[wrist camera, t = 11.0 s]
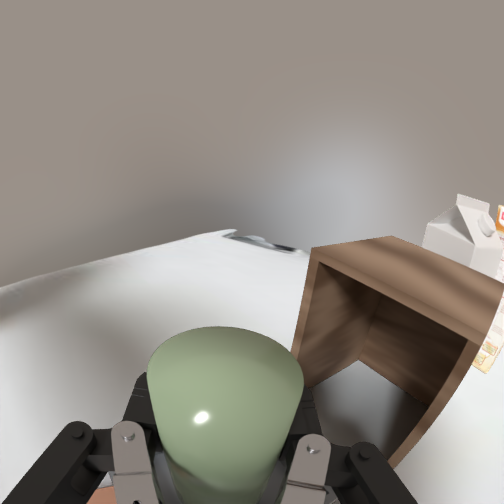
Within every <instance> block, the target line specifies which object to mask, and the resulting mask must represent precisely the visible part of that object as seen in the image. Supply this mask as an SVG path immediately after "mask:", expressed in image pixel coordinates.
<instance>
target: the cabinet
mask: <svg viewBox="0 0 504 504" xmlns="http://www.w3.org/2000/svg"><path fill="white" fill-rule="evenodd" d="M503 292H504V283H502V282H500V281H498V280H496V279H493V278H491V277H489V276H487V275H485V274H483V273H480V272H478V271H476V270H474V269H472V268H469V267H467V266H465V265H463V264H460V263H458V262H456V261H453V260H451V259H449V258H446V257H444V256H441V255H439V254H437V253H434V252H432V251H429V250H427V249H424V248H422V247H419V246H417V245H414V244H412V243H409V242H406V241H404V240H402V239H399V238H396V237H394V236H386V237H380V238H373V239H367V240H360V241H354V242H348V243H340V244H334V245H327V246H320V247H314V248H312V249H311V254H310V259H309V265H308V270H307V276H306V281H305V286H304V291H303V296H302V301H301V306H300V311H299V316H298V321H297V325H296V330H295V335H294V339H293V343H292V348H291V352H290V353H291V354H292V355H293V356H294V357H295V359H296V360H297V362H298V363H299V365H300V367H301V370H302V373H303V378H304V384H305V385H306V386H307V387H308V389H309V388H311V387H313V386H315V385H316V384H318V383H320V382H322V381H324V380H325V379H327V378H329V377H331V376H332V375H334V374H336V373H337V372H339V371H341V370H342V369H344V368H346V367H347V366H349V365H350V364H352V363H354V362H355V361H357V360H358V359H359V360H360V361H361V362H363V363H364V364H366V365H367V366H369V367H370V368H372V369H373V370H374V371H376V372H377V373H379V374H380V375H382V376H383V377H385V378H386V379H388V380H389V381H391V382H392V383H394V384H395V385H397V386H398V387H400V388H401V389H403V390H404V391H406V392H407V393H409V394H410V395H412V396H413V397H415V398H416V399H418V400H419V401H421V402H422V403H424V404H425V405H427V406H428V407H429V408H428V410H427V411H426V413H425V414H424V415H423V417H422V418H421V420H420V421H419V422H418V424H417V425H416V426H415V428H414V429H413V430H412V432H411V433H410V434H409V436H408V437H407V438H406V439H405V441H404V442H403V443H402V444H401V446H400V447H399V448H398V449H397V450H396V452H395V453H394V454H393V455H392V456H391V457H390V458H389V460H388V461H387V462H388V463H389V465H390V466H391V467H392V469H394V468H395V467H396V466H397V465H398V464H399V463H400V462H401V460H402V459H403V458H404V457H405V456H406V455H407V454H408V453H409V452H410V450H411V449H412V448H413V447H414V446H415V445H416V443H417V442H418V441H419V440H420V439H421V437H422V436H423V435H424V434H425V433H426V431H427V430H428V429H429V427H430V426H431V425H432V424H433V422H434V421H435V420H436V418H437V417H438V416H439V414H440V413H441V411H442V410H443V409H444V407H445V406H446V404H447V403H448V401H449V400H450V398H451V397H452V395H453V394H454V392H455V391H456V389H457V388H458V386H459V385H460V383H461V381H462V380H463V378H464V376H465V375H466V373H467V371H468V370H469V368H470V366H471V364H472V363H473V361H474V359H475V357H476V355H477V354H478V352H479V350H480V348H481V346H482V344H483V342H484V340H485V338H486V336H487V334H488V331H489V329H490V327H491V324H492V322H493V319H494V317H495V314H496V312H497V309H498V306H499V304H500V301H501V298H502V295H503Z"/></svg>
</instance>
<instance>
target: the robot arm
mask: <svg viewBox="0 0 504 504" xmlns="http://www.w3.org/2000/svg"><path fill="white" fill-rule="evenodd" d="M162 451H163V448H162V444H161V441H160V437H159V433H158V429H157V425H156V421H155V416H154V412H153V407H152V403H151V398H150V393H149V388H148V382H147V372H144V373H143V374H142V375H141V376H140V377H139V378H138V379H137V381H136V384H135V387H134V389H133V392H132V395H131V397H130V400H129V403H128V406H127V408H126V411H125V414H124V417H123V419H122V421H121V422H119V423H117V424H116V425H115V426H114V427H113V428H111V429H91V427H90V426H89V425H88V424H86V423H84V422H81V421H75V422H71V423H69V424H68V425H66V426H65V428H64V429H63V430H62V431H61V432H60V433H59V435H58V436H57V437H56V438H55V439H54V441H53V442H52V443H51V444H50V445H49V446H48V448H47V449H46V450H45V451H44V452H43V454H42V455H41V456H40V457H39V458H38V460H37V461H36V462H35V463H34V464H33V466H32V467H31V468H30V469H29V470H28V472H27V473H26V474H25V475H24V476H23V478H22V479H21V480H20V481H19V483H18V484H17V485H16V486H15V488H14V489H13V490H12V491H11V493H10V494H9V495H8V496H7V498H6V499H5V500H4V501H3V503H2V504H87V502H88V501H89V499H90V498H91V496H92V495H93V493H94V492H95V490H96V489H97V487H98V486H99V484H100V483H101V481H102V480H103V478H104V477H105V475H106V474H107V472H108V471H115V474H114V475H113V484H114V491H115V497H116V502H117V504H165V501H164V498H163V495H162V492H161V488H160V485H159V481H158V477H157V473H156V468H155V464H154V457H155V452H161V453H162ZM279 461H286V465H287V468H286V470H285V473H284V476H283V479H282V482H281V485H280V488H279V491H278V494H277V497H276V500H275V503H274V504H324V500H325V495H326V489H325V488H324V485H326V486H331V487H332V489H333V491H334V493H335V494H336V496H337V498H338V500H339V501H340V503H341V504H418V503H417V502H416V500H415V499H414V498H413V496H412V495H411V493H410V492H409V491H408V489H407V488H406V487H405V485H404V484H403V483H402V481H401V480H400V478H399V477H398V476H397V474H396V473H395V472H394V470H393V469H392V467H391V466H390V465H389V463H388V462H387V461H386V459H385V458H384V456H383V455H382V454H381V452H380V451H379V449H378V448H377V447H376V446H375V445H373V444H371V443H368V442H359V443H357V444H355V445H353V446H352V448H351V447H344V446H338V445H334V444H332V443H330V442H329V441H328V440H327V439H326V438H325V437H324V436H323V435H322V432H321V428H320V424H319V420H318V416H317V412H316V409H315V405H314V402H313V397H312V393H311V391H310V390H309V389H308V387H307V386H306V385H305V384H304V387H303V392H302V396H301V399H300V402H299V405H298V407H297V410H296V413H295V416H294V419H293V422H292V424H291V427H290V430H289V433H288V435H287V438H286V440H285V443H284V446H283V448H282V451H281V453H280V456H279Z"/></svg>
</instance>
